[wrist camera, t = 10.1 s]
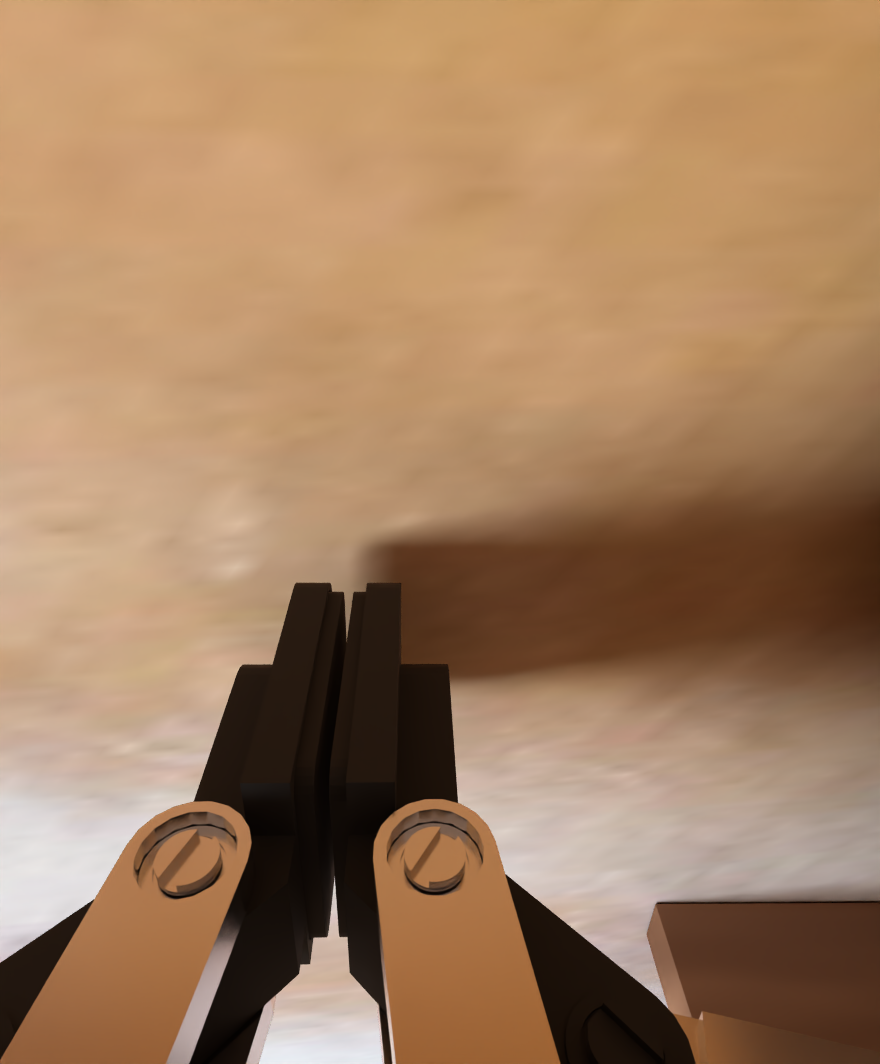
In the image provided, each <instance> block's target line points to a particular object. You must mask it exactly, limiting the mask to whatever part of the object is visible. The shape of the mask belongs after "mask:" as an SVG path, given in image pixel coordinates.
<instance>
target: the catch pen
mask: <svg viewBox="0 0 880 1064" xmlns="http://www.w3.org/2000/svg"><path fill="white" fill-rule="evenodd" d="M647 937H648V941H649V944H650V948H651V951H652V954H653V958H654V961H655V965H656V968H657V971H658V975H659V978H660V981H661V985H662V988H663V992H664V995H665V998H666V1002H667V1005H668V1009H669V1010H670V1011H671V1012H672V1013H674V1014H678V1015H682V1016H686V1017H691V1018H695V1019H699V1018H700V1015H701V1013H702V1011H704V1012H709V1013H713V1014H717V1015H722V1016H726V1017H730V1018H735V1019H739V1020H743V1021H748V1022H752V1023H756V1024H761V1025H765V1026H769V1027H774V1028H778V1029H782V1030H787V1031H791V1032H795V1033H800V1034H804V1035H808V1036H812V1037H817V1038H821V1039H825V1040H830V1041H834V1042H838V1043H843V1044H847V1045H851V1046H856V1047H860V1048H864V1049H869V1050H873V1051H877V1052H880V903H754V904H656V905H655V908H654V911H653V915H652V918H651V921H650V925H649V928H648V931H647Z"/></svg>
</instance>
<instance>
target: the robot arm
mask: <svg viewBox="0 0 880 1064" xmlns="http://www.w3.org/2000/svg"><path fill="white" fill-rule="evenodd" d="M334 877H335V885H336V899H337V913H338V926H339V937H348V951H349V967H350V973H351V975H352V976H353V977H354V978H355V979H356V980H357V981H358V982H359V983H360V984H361V986H362V987H363V988H364V989H365V990H366V991H367V992H368V993H369V994H370V996H371V997H372V998H373V999H374V1000H375V1001H376V1002H377V1006H378V1021H379V1031H380V1041H381V1052H382V1062H383V1064H880V1052H877V1051H873V1050H869V1049H864V1048H860V1047H856V1046H851V1045H847V1044H843V1043H838V1042H834V1041H830V1040H825V1039H821V1038H817V1037H812V1036H808V1035H804V1034H800V1033H795V1032H791V1031H787V1030H782V1029H778V1028H774V1027H769V1026H765V1025H761V1024H756V1023H752V1022H748V1021H743V1020H739V1019H735V1018H730V1017H726V1016H722V1015H717V1014H713V1013H709V1012H704V1011H702V1013H701V1015H700V1018H699V1019H695V1018H691V1017H686V1016H682V1015H678V1014H674V1013H672V1012H671V1011H670V1010H669V1009H668V1008H667V1007H666V1006H665V1005H664V1004H663V1003H662V1002H661V1001H660V1000H659V999H658V998H657V997H656V996H655V995H654V994H652V993H651V992H650V991H649V990H648V989H646V988H645V987H644V986H643V985H641V984H640V983H639V982H638V981H636V980H635V979H634V978H633V977H632V976H630V975H629V974H628V973H627V972H625V971H624V970H623V969H622V968H620V967H619V966H618V965H617V964H615V963H614V962H613V961H612V960H611V959H609V958H608V957H607V956H606V955H604V954H603V953H602V952H601V951H599V950H598V949H597V948H596V947H595V946H593V945H592V944H591V943H590V942H588V941H587V940H586V939H585V938H583V937H582V936H581V935H580V934H579V933H577V932H576V931H575V930H574V929H572V928H571V927H570V926H569V925H567V924H566V923H565V922H564V921H563V920H561V919H560V918H559V917H558V916H556V915H555V914H554V913H553V912H551V911H550V910H549V909H548V908H546V907H545V906H544V905H543V904H542V903H540V902H539V901H538V900H537V899H535V898H534V897H533V896H532V895H530V894H529V893H528V892H527V891H526V890H524V889H523V888H522V887H521V886H519V885H518V884H517V883H516V882H514V881H513V880H512V879H511V878H510V877H508V876H507V875H506V874H505V872H504V869H503V865H502V862H501V858H500V855H499V851H498V848H497V845H496V841H495V839H494V837H493V835H492V833H491V831H490V829H489V827H488V825H487V824H486V823H485V822H484V821H483V820H482V819H481V818H480V817H479V815H478V814H477V813H476V812H474V811H472V810H470V809H469V808H467V807H465V806H463V805H462V804H459V803H458V796H457V782H456V767H455V753H454V739H453V724H452V710H451V695H450V681H449V669H448V664H401V583H367V588H366V592H354V593H353V600H352V608H351V615H350V622H349V630H348V637H347V641H346V620H345V600H344V593H343V592H332V587H331V584H330V583H296V584H295V586H294V589H293V592H292V596H291V600H290V603H289V607H288V611H287V614H286V618H285V622H284V625H283V629H282V632H281V636H280V640H279V643H278V647H277V651H276V654H275V658H274V662H273V665H242V666H241V667H240V669H239V671H238V673H237V675H236V678H235V681H234V684H233V687H232V690H231V693H230V696H229V699H228V702H227V705H226V708H225V711H224V714H223V717H222V720H221V723H220V726H219V729H218V732H217V734H216V737H215V740H214V743H213V746H212V749H211V752H210V755H209V758H208V761H207V764H206V767H205V770H204V773H203V776H202V779H201V782H200V785H199V788H198V791H197V794H196V797H195V800H194V802H190V803H186V804H182V805H178V806H175V807H172V808H170V809H168V810H166V811H164V812H162V813H160V814H158V815H156V816H155V817H153V818H152V819H151V820H150V821H148V822H147V823H146V824H145V825H144V826H142V827H141V828H140V829H139V830H138V831H137V832H136V834H135V835H134V836H133V837H132V839H131V840H130V841H129V843H128V844H127V845H126V847H125V848H124V850H123V852H122V854H121V855H120V857H119V859H118V860H117V862H116V864H115V865H114V867H113V869H112V871H111V872H110V874H109V876H108V877H107V879H106V881H105V883H104V884H103V886H102V888H101V889H100V891H99V893H98V894H97V896H96V898H95V899H94V900H93V901H91V902H90V903H88V904H87V905H85V906H84V907H82V908H81V909H79V910H78V911H76V912H75V913H73V914H72V915H70V916H69V917H67V918H66V919H64V920H63V921H61V922H60V923H59V924H57V925H56V926H54V927H53V928H51V929H50V930H48V931H47V932H45V933H44V934H42V935H41V936H39V937H38V938H36V939H35V940H33V941H32V942H30V943H29V944H27V945H26V946H25V947H23V948H22V949H20V950H19V951H17V952H16V953H14V954H13V955H11V956H10V957H8V958H7V959H5V960H4V961H2V962H1V963H0V1064H259V1061H260V1057H261V1054H262V1051H263V1047H264V1044H265V1041H266V1037H267V1034H268V1031H269V1027H270V1024H271V1021H272V1017H273V1013H274V1007H275V1000H276V994H278V993H279V992H280V991H281V990H282V989H283V988H284V987H285V986H286V985H287V984H288V983H289V982H291V981H292V980H293V979H294V978H295V977H296V976H297V975H298V974H299V970H300V964H310V960H311V952H312V944H313V938H315V937H327V936H328V931H329V923H330V914H331V905H332V895H333V886H334Z"/></svg>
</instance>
